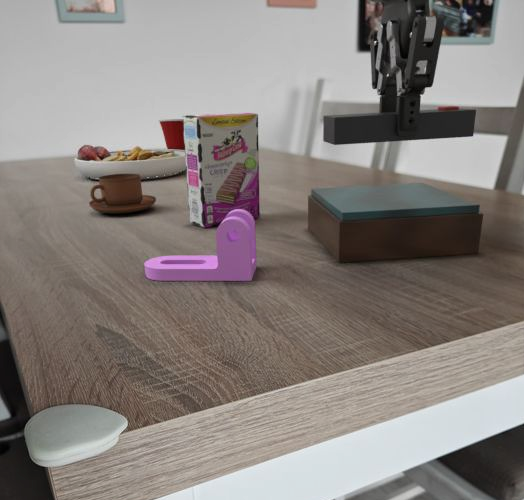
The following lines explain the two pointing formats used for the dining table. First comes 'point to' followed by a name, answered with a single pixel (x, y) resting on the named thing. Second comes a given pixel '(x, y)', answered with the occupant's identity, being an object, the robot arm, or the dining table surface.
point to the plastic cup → (173, 133)
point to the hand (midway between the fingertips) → (397, 133)
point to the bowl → (130, 162)
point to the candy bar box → (221, 166)
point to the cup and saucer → (120, 194)
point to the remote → (384, 125)
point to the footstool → (393, 222)
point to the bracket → (214, 266)
